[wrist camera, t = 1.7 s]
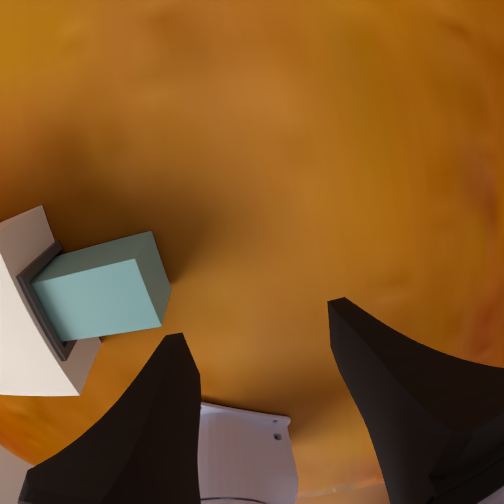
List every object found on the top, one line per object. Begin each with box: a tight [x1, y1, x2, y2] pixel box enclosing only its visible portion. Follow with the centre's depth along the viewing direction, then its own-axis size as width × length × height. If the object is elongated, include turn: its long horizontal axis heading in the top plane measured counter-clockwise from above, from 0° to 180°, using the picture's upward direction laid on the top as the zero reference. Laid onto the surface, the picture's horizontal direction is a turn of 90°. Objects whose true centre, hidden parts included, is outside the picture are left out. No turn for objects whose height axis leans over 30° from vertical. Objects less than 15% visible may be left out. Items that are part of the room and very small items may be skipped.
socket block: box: [0, 205, 102, 396], centre depth 16 cm, size 10×11×6 cm
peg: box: [29, 231, 171, 342], centre depth 17 cm, size 8×4×4 cm, turn 101°
